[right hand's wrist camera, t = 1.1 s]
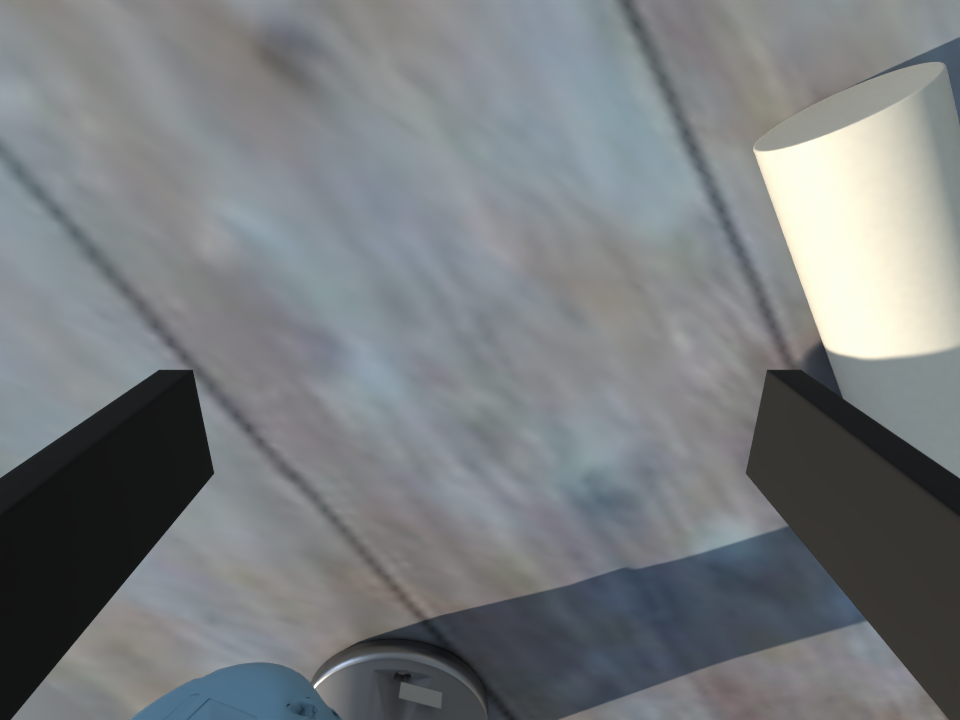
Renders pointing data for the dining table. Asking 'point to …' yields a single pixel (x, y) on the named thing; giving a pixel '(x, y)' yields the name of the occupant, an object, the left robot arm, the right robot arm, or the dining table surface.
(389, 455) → the dining table surface
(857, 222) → the paper towel roll
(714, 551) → the dining table surface
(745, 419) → the dining table surface
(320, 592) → the dining table surface
